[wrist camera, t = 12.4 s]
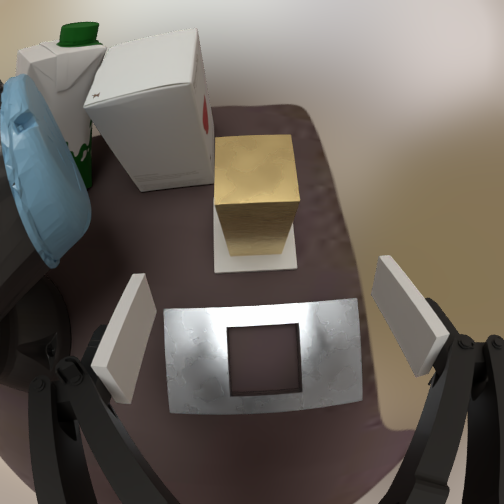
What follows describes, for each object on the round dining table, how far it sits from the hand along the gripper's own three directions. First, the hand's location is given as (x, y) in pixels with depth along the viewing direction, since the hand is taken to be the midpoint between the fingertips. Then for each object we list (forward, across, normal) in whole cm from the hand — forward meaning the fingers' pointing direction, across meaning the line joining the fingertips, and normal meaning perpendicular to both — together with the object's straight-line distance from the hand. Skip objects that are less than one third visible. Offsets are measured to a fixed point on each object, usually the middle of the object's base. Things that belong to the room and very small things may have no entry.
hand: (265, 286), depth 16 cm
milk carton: (+18, -24, +4) cm, 31 cm away
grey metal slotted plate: (+5, 0, -12) cm, 13 cm away
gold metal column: (+14, 0, -3) cm, 14 cm away
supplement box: (+21, -8, +4) cm, 23 cm away
